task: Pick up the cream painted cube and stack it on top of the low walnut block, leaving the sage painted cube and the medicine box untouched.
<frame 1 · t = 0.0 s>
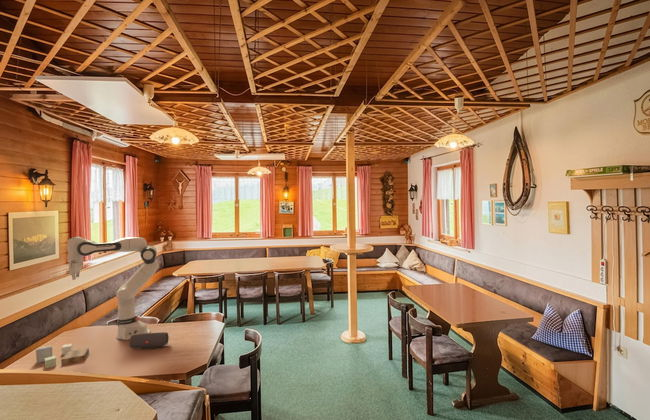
hand: (75, 278, 239), 48 cm above the table, fingers open, 8 cm apart
bluetooth speaker: (149, 348, 229), on the table
sage painted cube: (50, 366, 206), on the table
cream painted cube: (67, 352, 225), on the table
walnut block: (75, 359, 215), on the table
medicine box: (44, 361, 214), on the table
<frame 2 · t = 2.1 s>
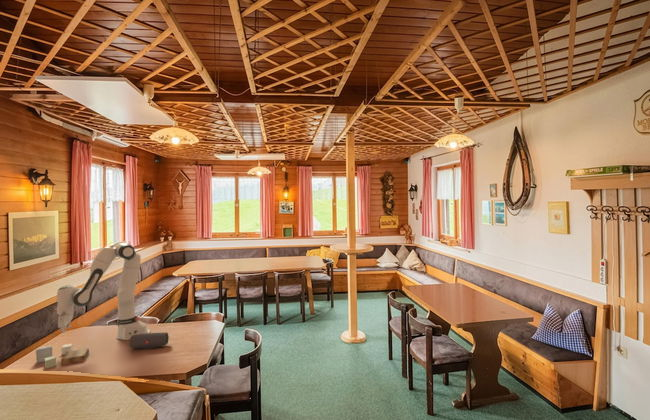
hand: (65, 330, 225), 16 cm above the table, fingers open, 8 cm apart
nothing on the table moved.
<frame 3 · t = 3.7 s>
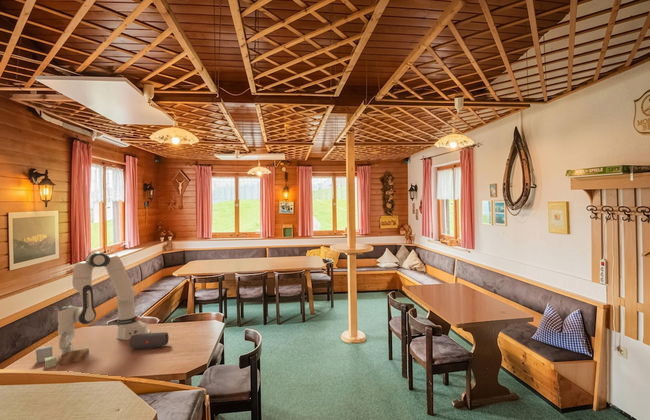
hand: (67, 350, 225), 2 cm above the table, fingers closed on cream painted cube, 5 cm apart
cream painted cube: (67, 352, 225), on the table, touching gripper
everything else where it was.
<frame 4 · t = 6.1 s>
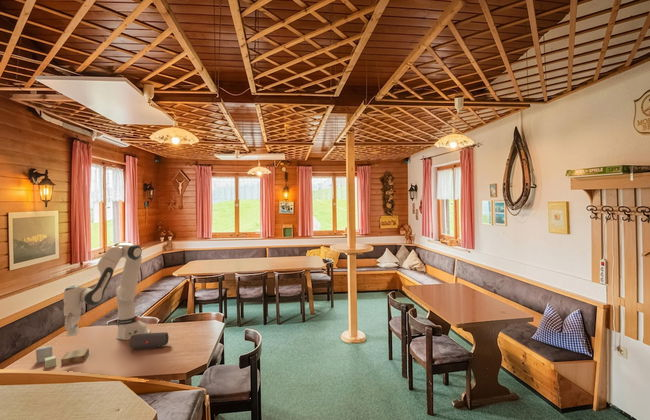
hand: (73, 332, 216), 17 cm above the table, fingers closed on cream painted cube, 5 cm apart
cream painted cube: (73, 334, 216), point 16 cm above the table, touching gripper
everything else where it was.
when the fingers open (7 cm above the table, at t = 8.7 s): cream painted cube drops 1 cm, resting on walnut block.
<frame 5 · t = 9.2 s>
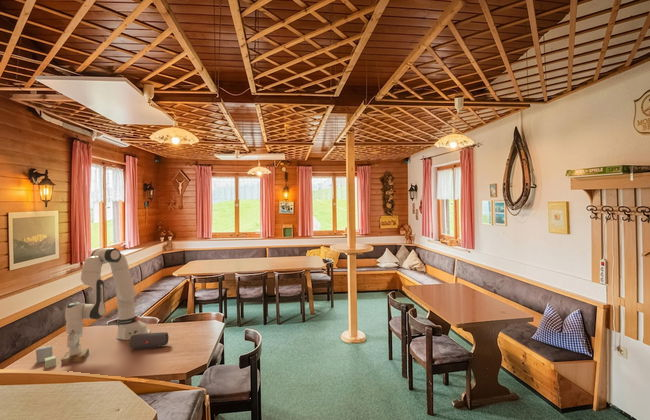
hand: (75, 348, 215), 7 cm above the table, fingers open, 8 cm apart
cream painted cube: (75, 353, 215), point 3 cm above the table, touching walnut block
walnut block: (75, 359, 215), on the table, touching cream painted cube
everything else where it was.
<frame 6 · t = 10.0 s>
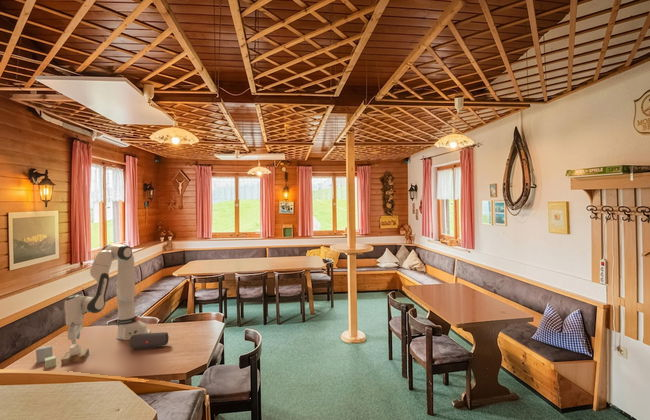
hand: (76, 341, 215), 11 cm above the table, fingers open, 8 cm apart
nothing on the table moved.
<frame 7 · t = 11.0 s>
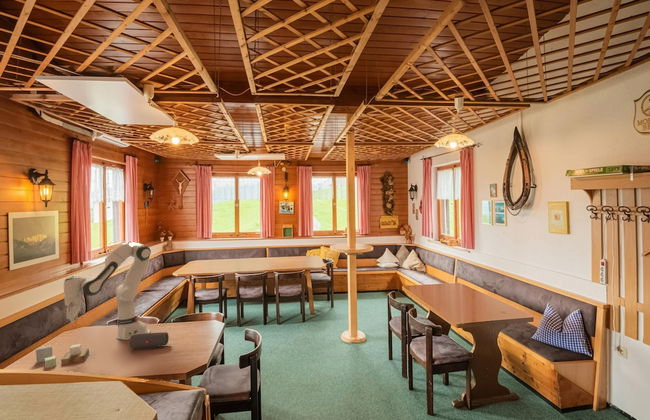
hand: (74, 321, 220), 23 cm above the table, fingers open, 8 cm apart
nothing on the table moved.
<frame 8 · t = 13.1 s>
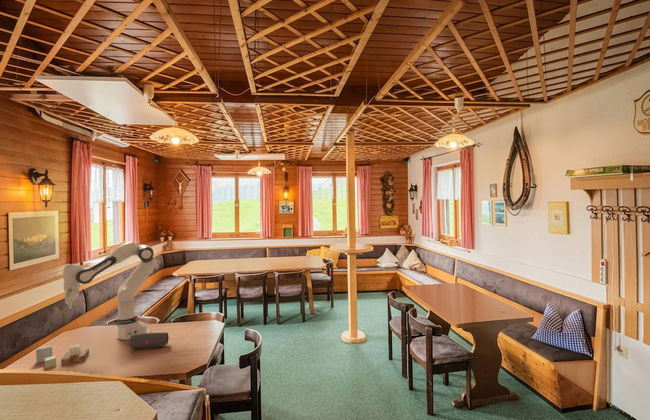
hand: (72, 306, 233), 29 cm above the table, fingers open, 8 cm apart
cream painted cube: (75, 353, 215), point 3 cm above the table
walnut block: (75, 359, 215), on the table
everything else where it was.
at the end: cream painted cube 0.3 cm from the walnut block (horizontally); cream painted cube point 3.5 cm above the table; cream painted cube tilted 0° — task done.
